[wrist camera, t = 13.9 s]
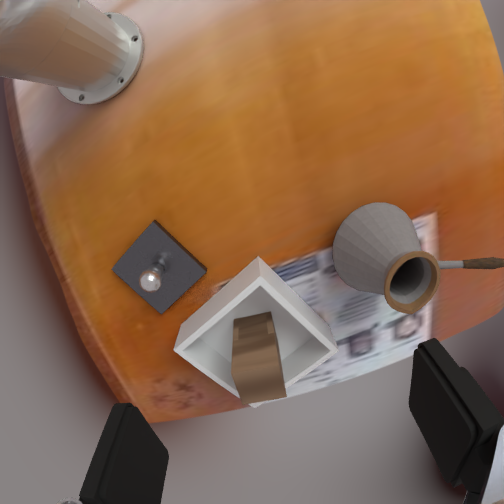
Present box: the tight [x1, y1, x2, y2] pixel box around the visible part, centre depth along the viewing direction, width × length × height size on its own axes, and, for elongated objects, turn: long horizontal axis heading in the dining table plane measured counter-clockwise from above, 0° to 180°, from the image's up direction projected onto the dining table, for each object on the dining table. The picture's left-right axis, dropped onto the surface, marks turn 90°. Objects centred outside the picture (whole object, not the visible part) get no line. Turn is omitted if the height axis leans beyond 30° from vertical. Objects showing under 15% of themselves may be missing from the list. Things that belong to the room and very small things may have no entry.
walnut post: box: [231, 311, 287, 405], centre depth 37 cm, size 5×5×11 cm
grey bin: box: [174, 256, 339, 408], centre depth 40 cm, size 15×15×6 cm
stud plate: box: [112, 220, 207, 314], centre depth 37 cm, size 9×9×5 cm
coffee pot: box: [332, 203, 504, 314], centre depth 32 cm, size 21×12×15 cm, turn 100°
